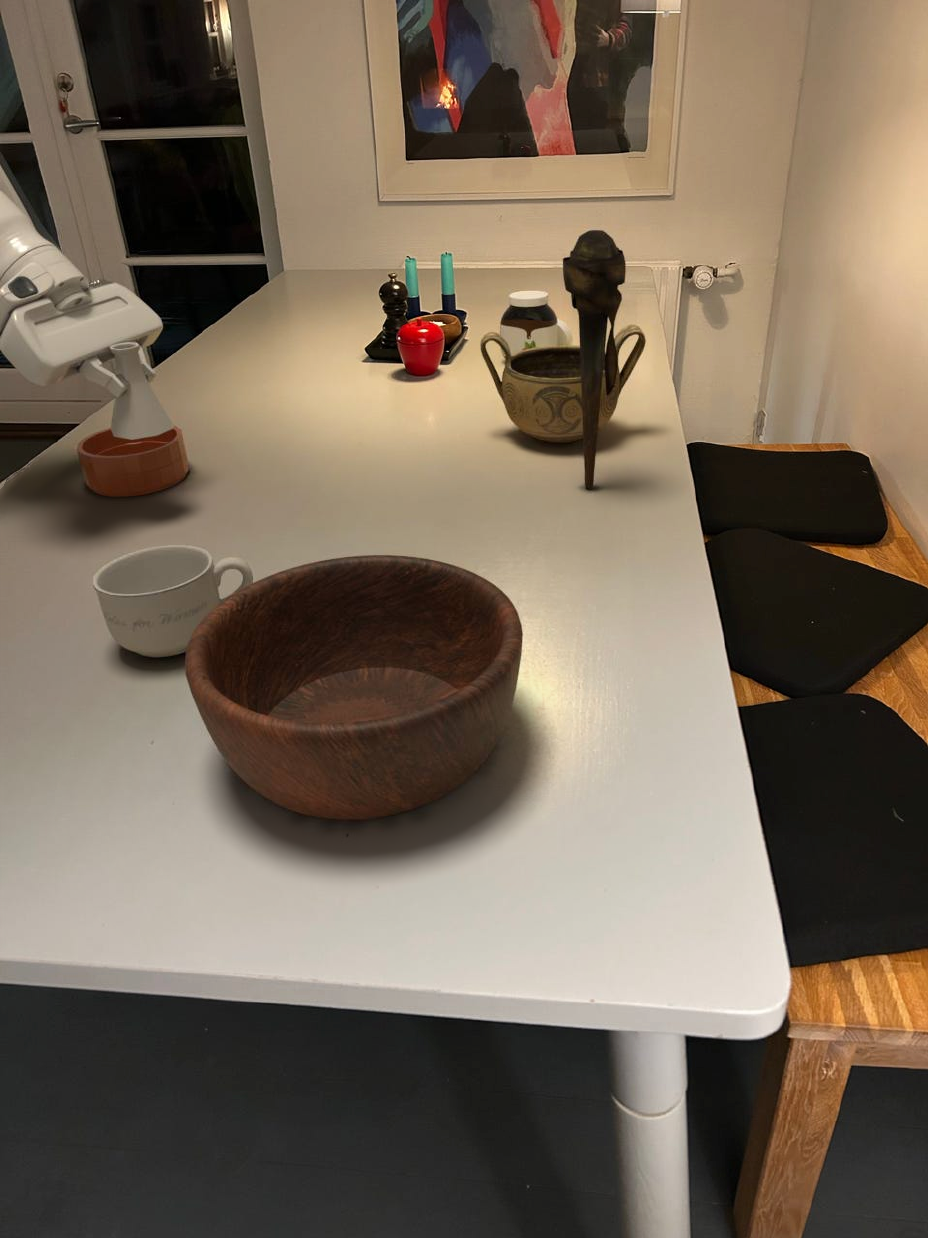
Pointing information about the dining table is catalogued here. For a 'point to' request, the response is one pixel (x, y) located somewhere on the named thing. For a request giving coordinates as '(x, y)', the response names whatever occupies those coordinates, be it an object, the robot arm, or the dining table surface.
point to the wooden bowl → (357, 682)
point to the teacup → (162, 596)
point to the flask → (136, 399)
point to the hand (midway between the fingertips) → (137, 386)
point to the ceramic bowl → (554, 386)
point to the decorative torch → (595, 325)
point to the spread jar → (532, 323)
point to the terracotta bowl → (132, 462)
